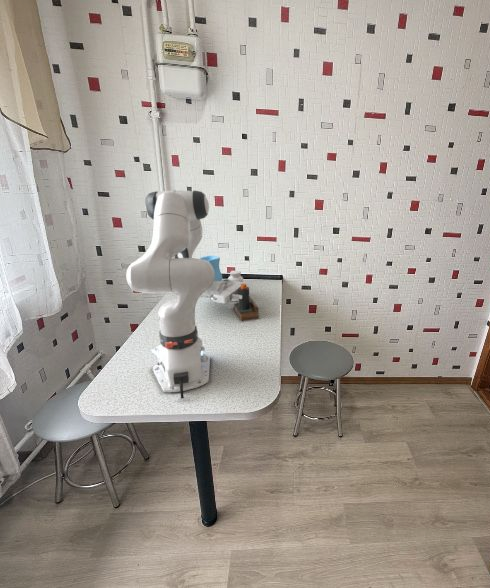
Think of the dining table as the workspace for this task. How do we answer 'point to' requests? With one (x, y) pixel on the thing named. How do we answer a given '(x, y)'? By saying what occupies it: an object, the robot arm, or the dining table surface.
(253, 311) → the brown tray
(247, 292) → the bottle
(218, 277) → the vase
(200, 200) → the robot arm
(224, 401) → the dining table surface
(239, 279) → the pill bottle
